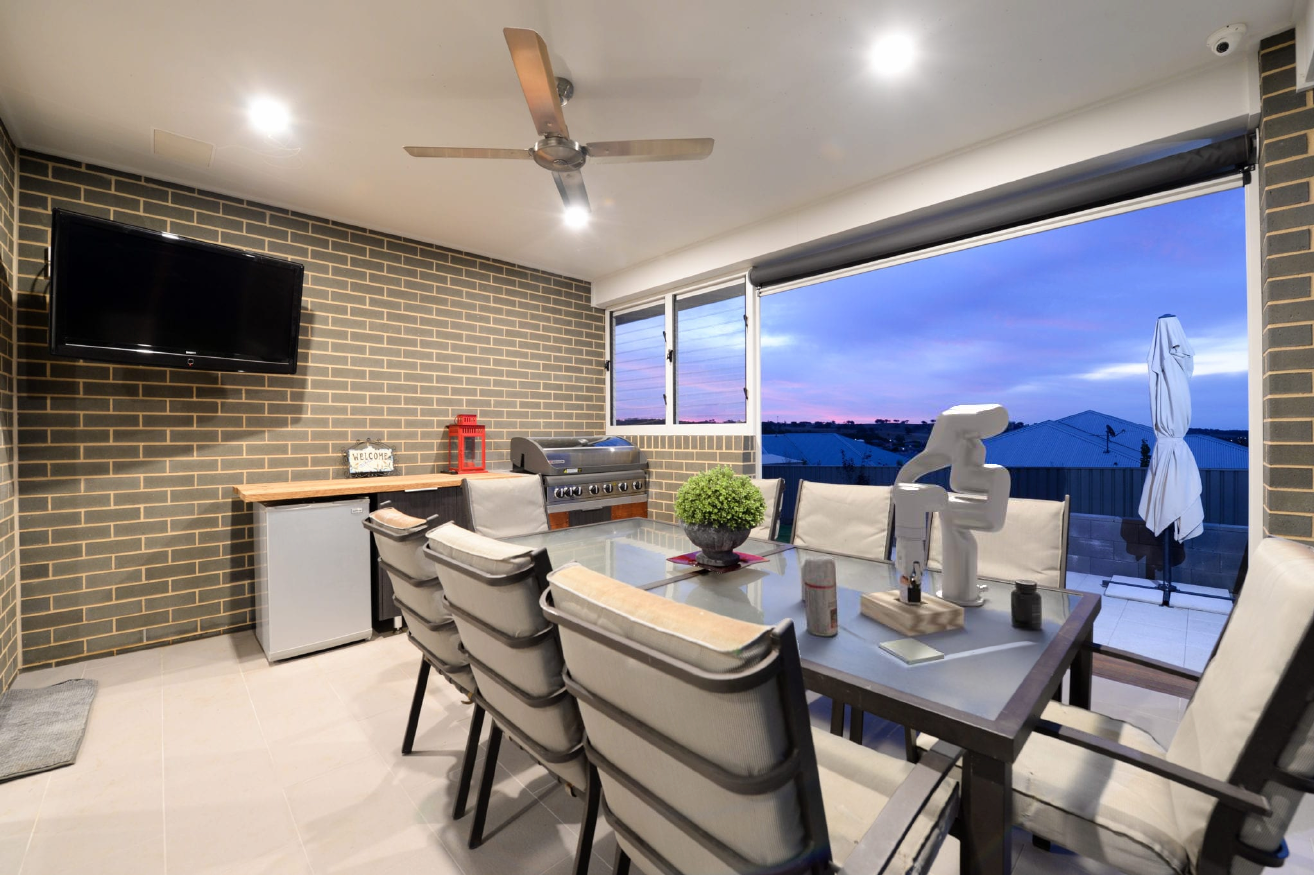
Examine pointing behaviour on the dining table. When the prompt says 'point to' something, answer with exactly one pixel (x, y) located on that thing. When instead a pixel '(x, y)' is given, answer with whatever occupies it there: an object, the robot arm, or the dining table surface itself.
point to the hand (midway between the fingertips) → (910, 597)
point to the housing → (912, 613)
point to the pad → (912, 651)
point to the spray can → (821, 596)
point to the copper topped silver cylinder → (905, 591)
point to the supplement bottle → (1026, 606)
